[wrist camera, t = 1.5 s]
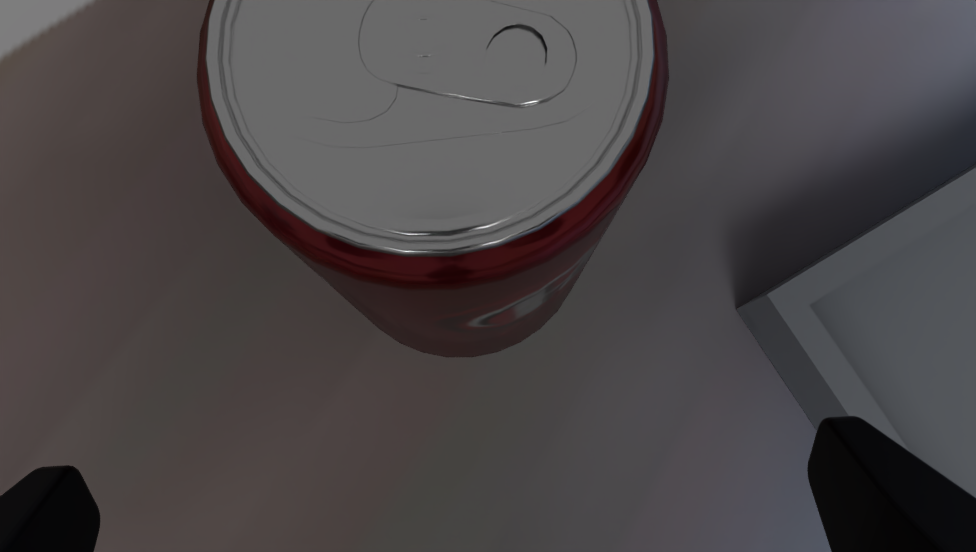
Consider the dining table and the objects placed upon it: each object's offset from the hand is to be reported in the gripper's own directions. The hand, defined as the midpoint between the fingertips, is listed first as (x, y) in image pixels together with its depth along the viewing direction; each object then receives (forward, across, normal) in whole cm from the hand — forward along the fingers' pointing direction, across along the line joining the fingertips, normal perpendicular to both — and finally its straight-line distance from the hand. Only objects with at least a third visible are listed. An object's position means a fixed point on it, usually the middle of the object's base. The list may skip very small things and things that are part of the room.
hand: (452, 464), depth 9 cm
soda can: (+13, 0, +5) cm, 14 cm away
